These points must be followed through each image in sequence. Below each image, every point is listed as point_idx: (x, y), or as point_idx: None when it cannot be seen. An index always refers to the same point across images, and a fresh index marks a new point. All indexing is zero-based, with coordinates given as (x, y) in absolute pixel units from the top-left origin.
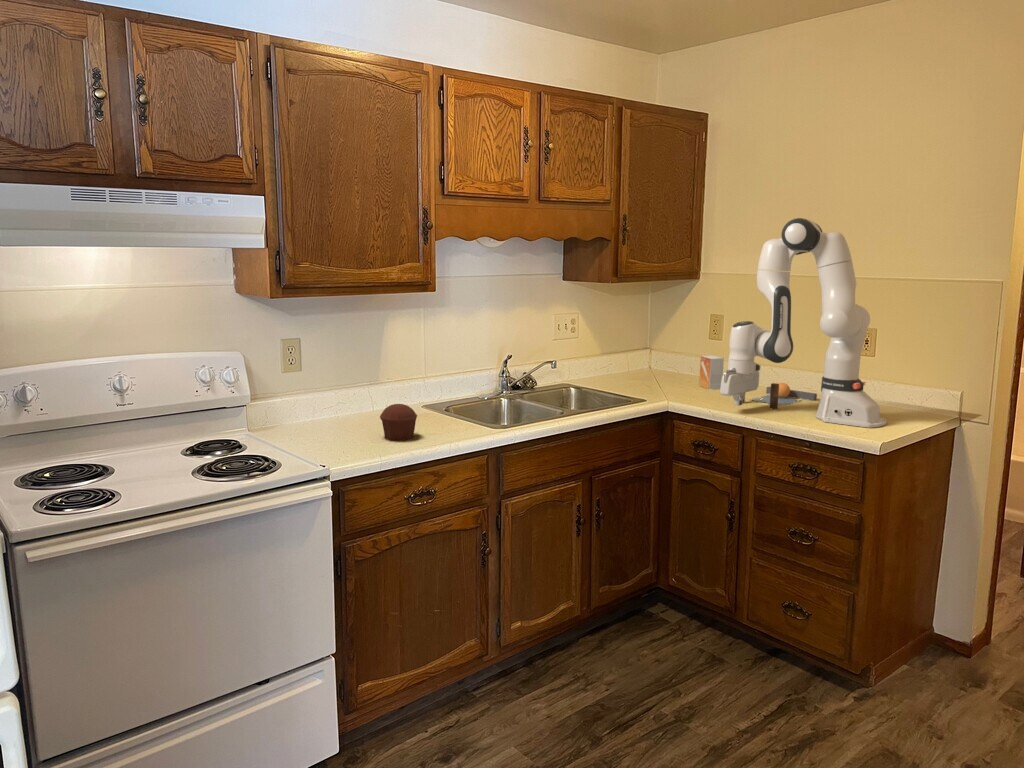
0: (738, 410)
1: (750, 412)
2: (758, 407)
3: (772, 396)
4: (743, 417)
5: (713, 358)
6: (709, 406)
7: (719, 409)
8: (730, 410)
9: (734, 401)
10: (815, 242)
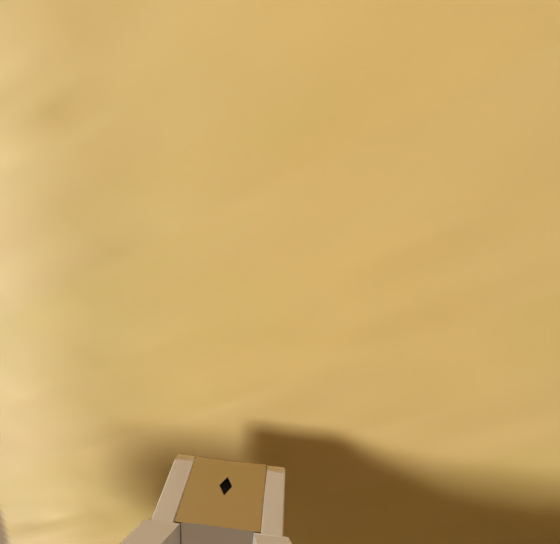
0: (239, 422)
1: None
2: (520, 498)
3: None
4: (19, 521)
5: None
6: (181, 23)
7: (115, 257)
8: (173, 369)
9: (159, 500)
10: None
